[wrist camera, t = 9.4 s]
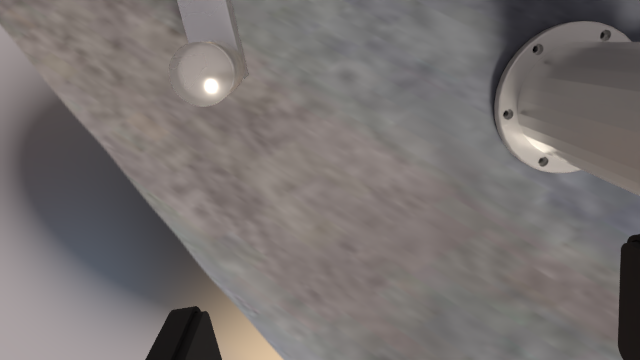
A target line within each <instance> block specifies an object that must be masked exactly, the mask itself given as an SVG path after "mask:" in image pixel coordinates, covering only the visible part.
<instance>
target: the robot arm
mask: <svg viewBox="0 0 640 360" xmlns="http://www.w3.org/2000/svg"><path fill="white" fill-rule="evenodd" d="M600 35H601V36H600ZM533 47H535V51H534V52H533ZM494 110H495V121H496V126H497V130H498V133H499V135H500V137H501V139H502V141H503V143H504V144H505V146H506V147H507V148H508V150H509V151H510V152H511V153H512V154H513V155H514V156H515V157H516V158H518V159H519V160H520V161H522V162H524V163H525V164H527V165H529V166H531V167H533V168H535V169H538V170H541V171H545V172H551V173H569V172H574V171H579V170H584V171H586V172H588V173H590V174H592V175H595V176H597V177H599V178H601V179H603V180H606V181H608V182H610V183H612V184H614V185H616V186H619V187H621V188H623V189H625V190H627V191H630V192H632V193H634V194H636V195H638V196H640V42H632V41H631V40H630V39H629V38H628V37H627V36H626V35H625V34H624V33H622V32H620V31H619V30H617V29H616V28H614V27H612V26H609V25H606V24H603V23H600V22H591V21H576V22H569V23H564V24H559V25H556V26H553V27H551V28H549V29H546V30H544V31H542V32H540V33H539V34H537V35H536V36H534V37H533V38H531V39H530V40H529V41H528V42H526V43H525V44H524V45H523V46H522V47H521V48H520V49H519V50H518V51H517V52H516V54H515V55H514V56H513V57H512V59H511V60H510V61H509V63H508V65H507V66H506V68H505V70H504V72H503V74H502V76H501V78H500V81H499V84H498V87H497V90H496V97H495V103H494ZM505 110H506V114H505V115H504V116H503V113H504V112H505ZM539 159H540V161H539ZM618 348H619V352H620V354H621V356H622V358H623V360H640V234H638V235H632V236H631V237H629V239H628V241H627V243H625V244H623V246H622V247H621V264H620V295H619V327H618ZM145 360H222V358H221V355H220V351H219V348H218V344H217V341H216V337H215V334H214V330H213V327H212V323H211V320H210V317H209V314H208V312H206V311H204V312H201V311H200V309H199V308H198V307H197V306H195V307H188V308H182V309H176V310H172V311H171V312H170V313H169V315H168V317H167V319H166V321H165V323H164V325H163V327H162V329H161V331H160V332H159V334H158V336H157V338H156V340H155V342H154V344H153V346H152V348H151V350H150V352H149V354H148V356H147V358H146V359H145Z"/></svg>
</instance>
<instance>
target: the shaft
mask: <svg viewBox="0 0 640 360" xmlns="http://www.w3.org/2000/svg"><path fill="white" fill-rule="evenodd" d="M177 2H178V6H179V10H180V13H181V17H182V21H183V24H184V28H185V31H186V35H187V39H188V42H189V44H186V45H184V46H182V47H181V48H180V49H179V50H177V52H176V53H175V54H174V56H173V57H172V59H171V62H170V65H169V78H170V82H171V85H172V87H173V89H174V90H175V92H176V93H177V94H178V96H179V97H180V98H182V99H183V100H184V101H186V102H188V103H189V104H192V105H195V106H201V107H205V106H211V105H214V104H217V103H218V102H220V101H221V100H223V99H224V98H225V97H226V96H227V95H229V94H230V93H231V92H232V91H233V90H235V89H236V88H237V87H238V86H239V85H240V83H241V82H242V80H243V79H245V78H246V77H247V76H248V75H249V73H248V69H247V65H246V60H245V56H244V52H243V48H242V44H241V40H240V36H239V32H238V27H237V23H236V19H235V15H234V11H233V7H232V3H231V0H177Z"/></svg>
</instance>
